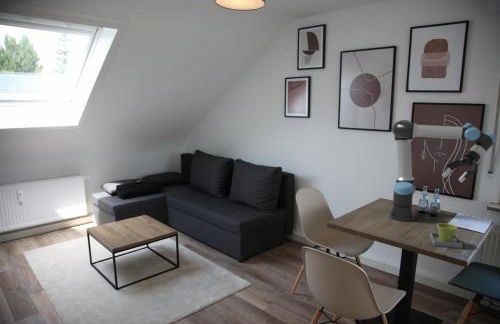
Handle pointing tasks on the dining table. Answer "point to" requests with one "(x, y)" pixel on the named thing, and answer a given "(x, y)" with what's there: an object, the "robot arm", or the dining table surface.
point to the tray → (436, 242)
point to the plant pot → (446, 232)
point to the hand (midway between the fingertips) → (451, 178)
